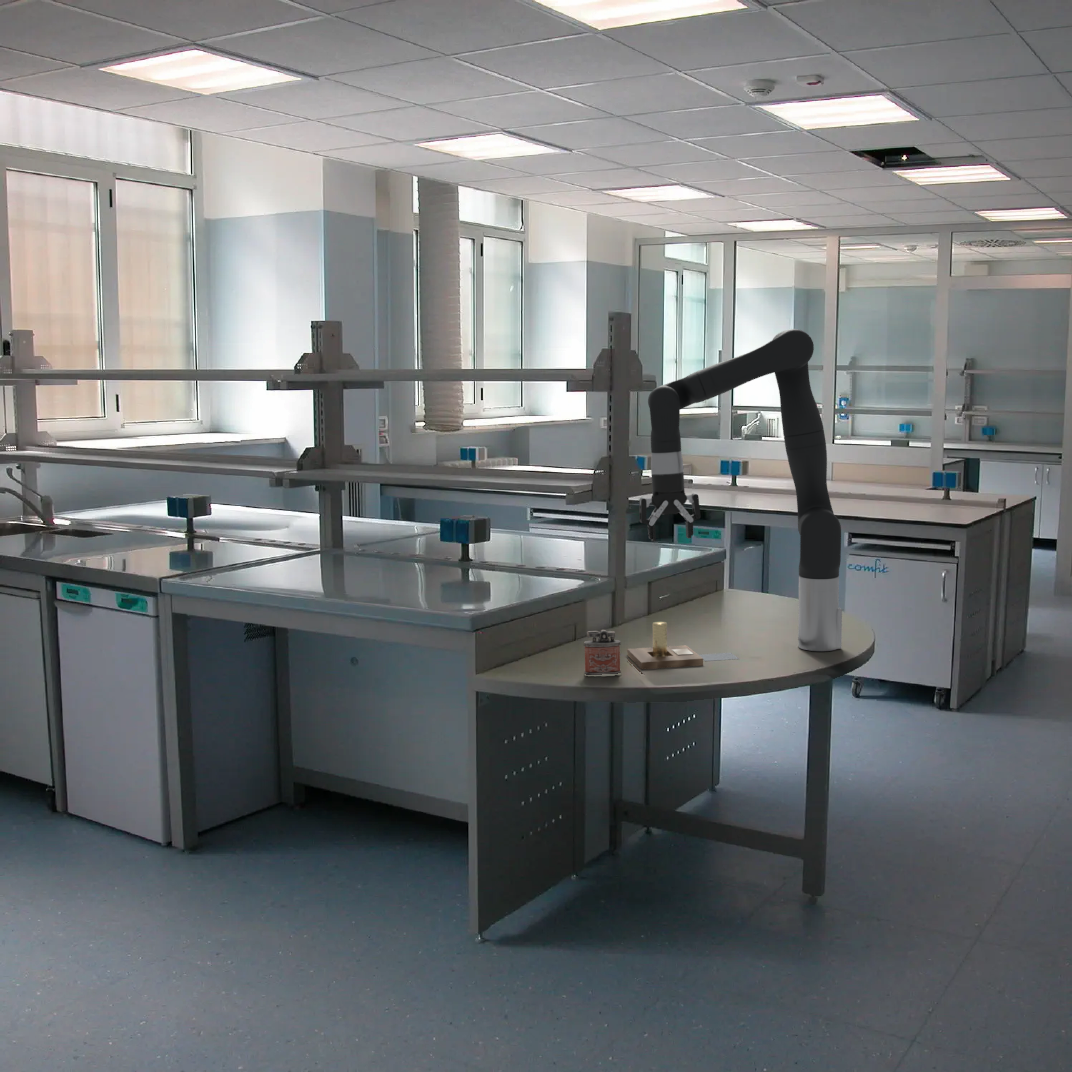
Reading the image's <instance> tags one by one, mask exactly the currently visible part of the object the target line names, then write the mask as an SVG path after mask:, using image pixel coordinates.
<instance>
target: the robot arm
mask: <svg viewBox="0 0 1072 1072" xmlns="http://www.w3.org/2000/svg"><path fill="white" fill-rule="evenodd" d="M814 349H815V346H814V341H813V339H812V337H811V336H810V334H808V333H807V332H806V331H804V330H801V329H797V328H789V329H785V330H782V331H781V332H778V333H777V334H776V335H775V336H774V337H773V338H772V339H771V340H770V341H769V342H767V343H765V344H763V345H762V346H760V347H757V348H756V349H753V350H751V351H748V352H746V353H744V354H742V355H739V356H736V357H733V358H729V359H726V360H724V361H720V362H716V363H714V364H711V365H709V366H707V367H705V368H702V369H700V370H697V371H695V372H692V373H689V374H688V375H686V376H685V377H683V378H680V379H677V380H673V381H671V382H667V383H665V384H662V385H659V386H657V387H655V388H654V389H652V391H650V393H649V396H648V398H647V404H648V408H649V415H650V425H651V427H650V428H651V430H650V450H651V451H650V454H651V455H650V456H651V458H650V472H651V473H650V474H651V475H650V476H651V486H652V487H651V489H652V494H651V495H652V496H651V498H650V497H649V498H648V497H647V498H644V497H640V498H639V499H638V500H639V505H638V507H639V510H638V511H639V515H638V517H639V519H638V521H639V523H641V524H643V525H647V536H648V539H650V541H651V542H656V541H657V537H656V536H657V534H656V533H657V532H656V526H655V524H656V522H657V520H658V519H659V518H660V516H661V515H663V516H668V515H670V514H671V515H672V514H673V515H678V513H679V514H680V515H681V516H682V517H683V518H684V520H685V537H686V538H687V539H692V536H694V533H695V532H694V522H695V521H696V520H700V519H701V517H702V515H701V509H700V500H699V499H700V498H699V495H698V494H697V493H694V492H693V493H691V494H687V495H686V492H685V476H684V475H685V474H684V471H685V470H684V469H685V468H684V467H685V466H684V459H683V455H682V441H681V440H682V439H681V432H680V415H681V414H680V412H681V410H683V409H685V408H687V407H689V406H691V405H694V404H698V403H702V402H704V401H708V400H710V399H712V398H714V397H718V396H721V395H722V394H725V393H727V392H730V391H731V390H734V389H736V388H738V387H740V386H742V385H744V384H746V383H749V382H751V381H754V380H756V379H759V378H761V377H764V376H767V375H771V374H773V373H774V376H775V379H776V380H775V381H776V383H777V388H778V394H779V403H780V417H781V424H782V426H781V427H782V435H783V439H784V446H785V451H786V457H787V461H788V466H789V469H790V474H791V477H792V480H793V484H794V487H795V495H796V505H797V530H798V532H799V536H800V541H799V542H800V543H799V545H800V546H799V548H800V550H799V553H800V554H799V564H798V626H797V627H798V628H797V629H798V632H797V633H798V634H797V640H798V641H797V642H798V643H797V644H798V647H799V649H802V650H805V651H810V652H811V651H812V652H829V651H830V652H831V651H835V650H839V649H843V648H842V647H843V646H842V645H843V642H842V638H843V637H842V632H843V631H842V630H843V629H842V627H843V623H842V622H843V609H842V608H841V607H839V601H840V600H839V598H840V597H839V595H840V589H839V587H840V567H841V559H842V558H841V557H842V556H841V555H842V554H841V553H842V527H841V522H840V520H839V518H838V517H837V516H836V515H835V514H834V511H833V507H832V502H831V500H830V496H829V495H830V494H829V490H828V483H827V477H828V476H827V475H828V472H827V471H828V470H827V469H828V455H827V454H828V453H827V443H826V437H825V430H824V429H825V428H824V425H823V420H822V416H821V413H820V411H819V407H818V405H817V402H816V400H815V396H814V394H813V391H812V387H811V382H810V372H809V362H810V360H811V359H812V357H813V354H814V351H815V350H814ZM687 500H688V503H689V504H691V509H692V514H690V513H689V511H688V510H687V509H686V507H684V505H685V504H686V502H687ZM650 504H652V505H653V507H654V509H653V510H652V512H651V515H650V516H649V517H648V518H647V508H649V506H650Z"/></svg>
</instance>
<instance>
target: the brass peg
mask: <svg viewBox="0 0 1072 1072" xmlns="http://www.w3.org/2000/svg"><path fill="white" fill-rule="evenodd" d="M667 646H668V623H667V622H666V621H654V622H652V647H653V657H661V656H667Z"/></svg>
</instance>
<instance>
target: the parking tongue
mask: <svg viewBox="0 0 1072 1072" xmlns="http://www.w3.org/2000/svg"><path fill="white" fill-rule="evenodd" d="M698 655H699V656H701V657H702V658H703V662H713V661H726V660H727V661H728V660H729V661H730V660H740V657H739V658H738V657H737V655H735V654H734V653H732V652H719V653H705V654H704V653H703V654H701V653H700V654H698Z"/></svg>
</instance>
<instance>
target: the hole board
mask: <svg viewBox="0 0 1072 1072" xmlns="http://www.w3.org/2000/svg"><path fill="white" fill-rule="evenodd" d="M626 651H627V653H626V654H627V657H628V658H627V660H628V661H629V662H630V663H631V664H633V666H634V667H635V668H636V669H637V670H638V671H639V672H641V674H644V673H643V672H642V671H641V670H650V669H651V670H652V669H666V668H668V669H669V668H685V667H699V666H704V660H703V658H702V657H701V656H699V655H700V654H698V653H697V652H695V651H694V650H693V649H692V648H690V647H689V646H688V645H686V644H685V645H683V644H682V645H669V646H668V645H667V656H661V657H653V646H652V647H638V648H637V647H636V648H627V649H626ZM628 661H627V662H628ZM637 666H638V667H637Z"/></svg>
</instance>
